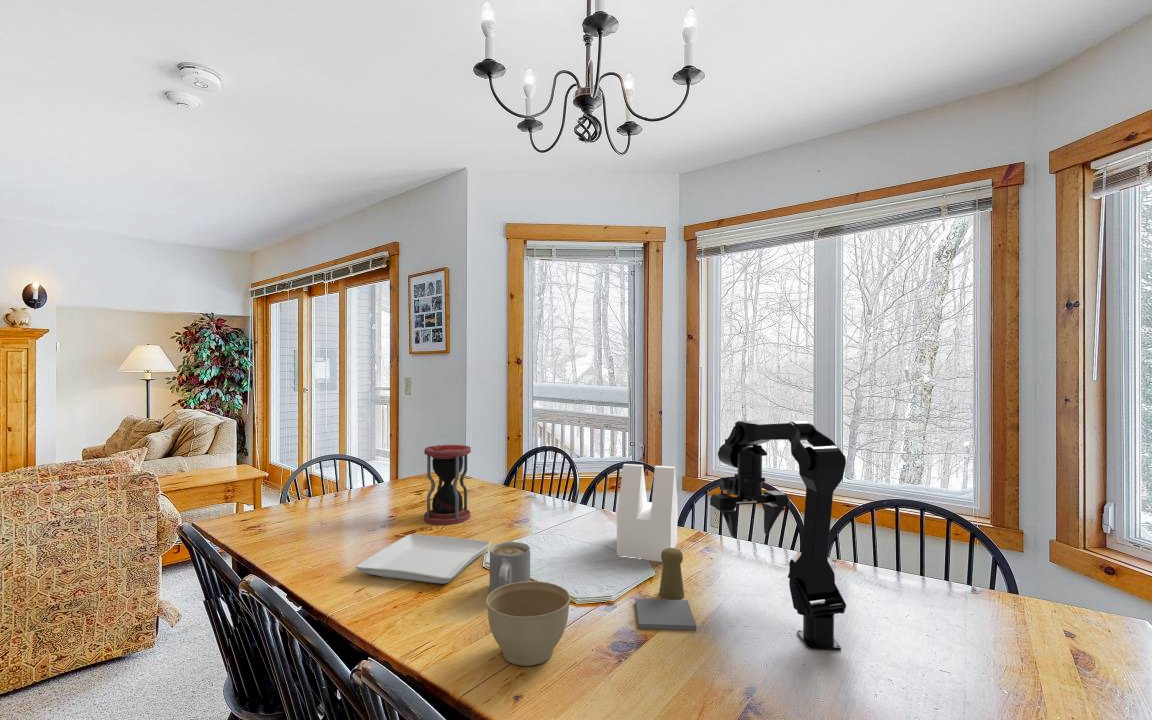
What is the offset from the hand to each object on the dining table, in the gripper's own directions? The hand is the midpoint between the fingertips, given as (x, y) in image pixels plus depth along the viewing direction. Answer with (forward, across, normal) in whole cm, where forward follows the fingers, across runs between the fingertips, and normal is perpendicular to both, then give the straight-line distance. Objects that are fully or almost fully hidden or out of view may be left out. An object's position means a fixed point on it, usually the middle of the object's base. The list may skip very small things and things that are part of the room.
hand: (749, 535), depth 133 cm
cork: (+14, +19, -3) cm, 24 cm away
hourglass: (+13, +72, -79) cm, 108 cm away
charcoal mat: (+14, +25, +7) cm, 30 cm away
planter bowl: (+14, +57, +15) cm, 61 cm away
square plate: (+14, +78, -36) cm, 86 cm away
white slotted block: (+14, +13, -34) cm, 39 cm away
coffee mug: (+14, +58, -13) cm, 61 cm away
